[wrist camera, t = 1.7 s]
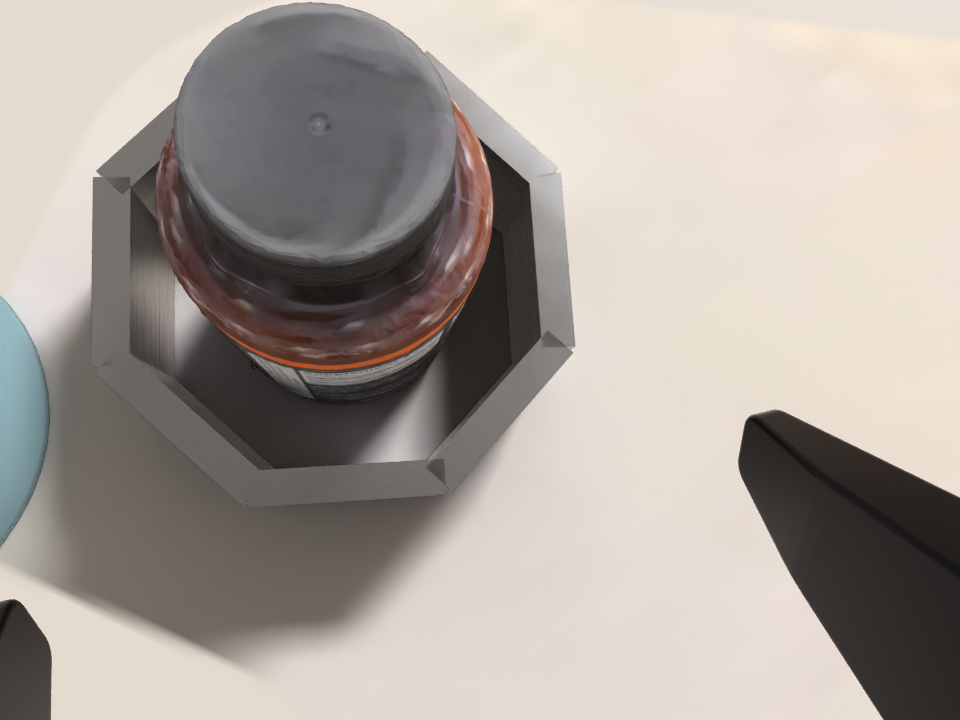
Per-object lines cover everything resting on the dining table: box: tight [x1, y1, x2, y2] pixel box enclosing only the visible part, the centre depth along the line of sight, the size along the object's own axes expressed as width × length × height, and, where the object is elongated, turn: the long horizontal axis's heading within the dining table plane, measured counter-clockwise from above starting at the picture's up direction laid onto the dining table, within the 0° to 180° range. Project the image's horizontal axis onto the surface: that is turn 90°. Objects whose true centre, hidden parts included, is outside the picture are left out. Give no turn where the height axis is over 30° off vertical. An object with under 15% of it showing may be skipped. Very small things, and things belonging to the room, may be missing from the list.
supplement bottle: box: [155, 2, 493, 405], centre depth 17 cm, size 6×6×11 cm
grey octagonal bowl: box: [91, 48, 575, 508], centre depth 20 cm, size 11×11×4 cm
